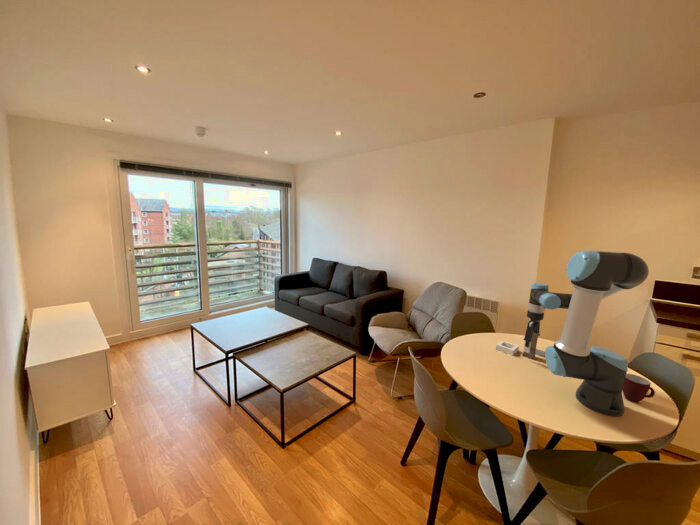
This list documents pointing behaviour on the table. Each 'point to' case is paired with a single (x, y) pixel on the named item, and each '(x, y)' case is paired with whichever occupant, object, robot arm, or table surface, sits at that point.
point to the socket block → (507, 347)
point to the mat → (540, 352)
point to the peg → (532, 347)
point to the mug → (636, 388)
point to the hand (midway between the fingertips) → (529, 348)
